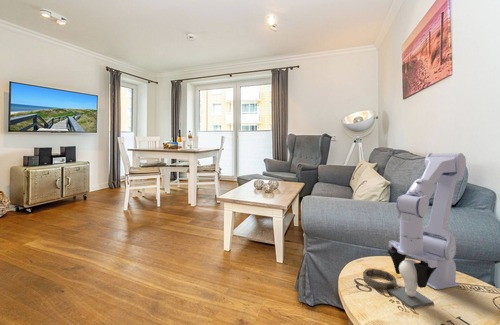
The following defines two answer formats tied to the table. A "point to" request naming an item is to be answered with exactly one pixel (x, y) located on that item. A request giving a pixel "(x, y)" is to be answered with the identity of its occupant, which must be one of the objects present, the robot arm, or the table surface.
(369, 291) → the table surface
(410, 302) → the mat
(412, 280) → the lightbulb
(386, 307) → the table surface
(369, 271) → the collar
